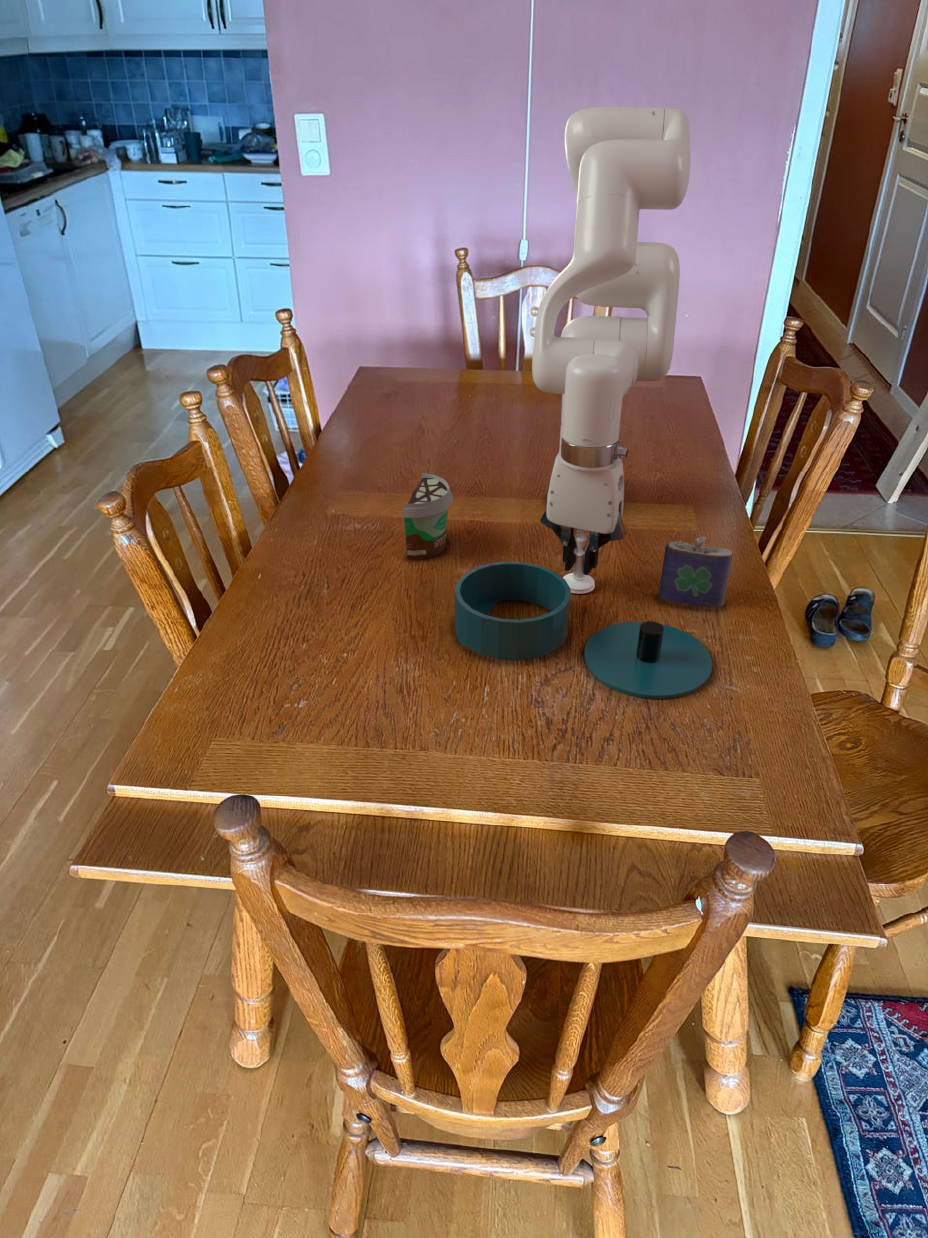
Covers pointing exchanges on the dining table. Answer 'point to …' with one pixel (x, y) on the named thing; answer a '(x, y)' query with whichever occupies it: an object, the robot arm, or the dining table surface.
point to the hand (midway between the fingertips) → (579, 567)
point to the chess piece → (580, 567)
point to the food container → (427, 517)
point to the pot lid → (648, 660)
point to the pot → (510, 635)
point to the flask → (695, 573)
